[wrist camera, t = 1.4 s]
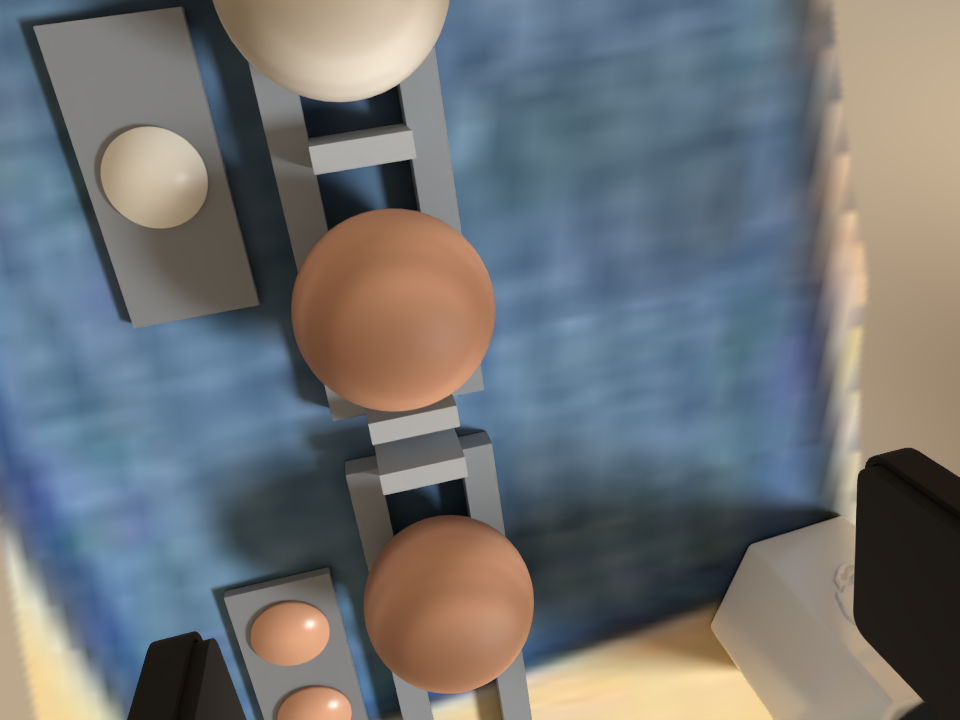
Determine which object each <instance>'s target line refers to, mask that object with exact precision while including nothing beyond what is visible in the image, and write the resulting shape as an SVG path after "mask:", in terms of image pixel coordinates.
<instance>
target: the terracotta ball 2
mask: <svg viewBox="0 0 960 720" xmlns="http://www.w3.org/2000/svg"><path fill="white" fill-rule="evenodd" d="M533 610H534V595H533V587H532V582H531V578H530V575H529V572H528V569H527V567H526V564H525V563H524V561H523V559H522V557H521V555H520V554H519V552H518V551H517V549H516V548H515V547H514V546H513V545H512V543H511V542H510V541H509V540H508V539H507V538H506V537H505V536H504V535H503V534H502V533H500V532H499V531H498V530H496V529H495V528H493V527H491V526H490V525H488V524H486V523H484V522H482V521H479V520H476V519H473V518H470V517H466V516H460V515H441V516H435V517H430V518H427V519H423V520H421V521H418V522H416V523H413V524H412V525H410V526H408V527H406V528H404V529H403V530H402V531H400V532H399V533H397V534H396V535H395V536H394V537H393V538H392V539H391V540H390V541H389V542H388V543H387V544H386V545H385V547H384V548H383V549H382V550H381V552H380V553H379V555H378V556H377V558H376V560H375V562H374V564H373V566H372V568H371V570H370V572H369V575H368V579H367V582H366V587H365V593H364V617H365V623H366V629H367V632H368V635H369V638H370V640H371V643H372V645H373V647H374V649H375V651H376V652H377V654H378V655H379V657H380V658H381V660H382V661H383V662H384V664H385V665H386V666H387V667H388V668H389V669H390V670H391V671H392V672H393V673H395V674H396V675H397V676H398V677H399V678H401V679H402V680H404V681H405V682H407V683H409V684H411V685H413V686H415V687H417V688H420V689H423V690H426V691H431V692H436V693H461V692H465V691H470V690H473V689H476V688H478V687H481V686H483V685H485V684H487V683H489V682H491V681H492V680H494V679H495V678H496V677H498V676H499V675H500V674H501V673H503V672H504V671H505V670H506V669H507V668H508V667H509V666H510V665H511V664H512V663H513V661H514V660H515V659H516V657H517V656H518V654H519V653H520V651H521V649H522V648H523V646H524V644H525V642H526V640H527V637H528V634H529V631H530V628H531V624H532V620H533Z"/></svg>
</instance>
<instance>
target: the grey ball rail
mask: <svg viewBox="0 0 960 720" xmlns="http://www.w3.org/2000/svg"><path fill="white" fill-rule="evenodd" d="M248 63H249V67H250V71H251V76H252V80H253V84H254V88H255V93H256V97H257V101H258V105H259V110H260V114H261V118H262V122H263V127H264V131H265V135H266V139H267V144H268V148H269V152H270V156H271V161H272V165H273V169H274V173H275V178H276V182H277V186H278V190H279V195H280V199H281V203H282V207H283V212H284V216H285V220H286V224H287V229H288V233H289V237H290V241H291V246H292V250H293V254H294V258H295V263H296V267H297V271H298V272H299V270H300V267H301V265H302V263H303V261H304V259H305V258H306V256H307V254H308V252H309V251H310V250H311V249H312V247H313V246H314V245H315V244H316V242H317V241H318V240H319V239H320V238H321V237H322V236H323V235H324V234H325V233H327V232H328V231H329V230H328V225H327V221H326V216H325V211H324V207H323V202H322V197H321V193H320V188H319V183H318V178H317V175H318V174H324V173H330V172H336V171H342V170H348V169H354V168H360V167H366V166H372V165H379V164H385V163H391V162H397V161H403V160H409V161H410V167H411V173H412V179H413V185H414V191H415V197H416V203H417V209H418V212H421V213H424V214H428V215H430V216H432V217H435V218H437V219H439V220H441V221H443V222H444V223H446V224H447V225H449V226H451V227H452V228H453V229H455V230H456V231H457V232H458V233H459V234H461V235H462V233H461V227H460V220H459V213H458V206H457V199H456V192H455V185H454V178H453V171H452V164H451V157H450V151H449V144H448V137H447V130H446V123H445V116H444V109H443V102H442V95H441V88H440V82H439V75H438V68H437V61H436V54H435V47H434V46H433V48H432V50H431V51H430V53H429V55H428V56H427V57H426V58H425V60H424V61H423V62H422V64H421V65H420V66H419V67H418V68H417V69H416V70H415V71H414V72H413V73H412V74H411V75H410V76H409V77H407V78H406V79H405V80H403V81H402V82H401V83H399V84H398V85H397V88H398V94H399V100H400V107H401V113H402V119H403V123H401V124H395V125H389V126H382V127H376V128H370V129H364V130H357V131H351V132H345V133H339V134H332V135H326V136H320V137H313V138H309V136H308V132H307V127H306V122H305V118H304V113H303V108H302V104H301V99H300V95H298V94H295V93H293V92H291V91H289V90H287V89H285V88H282V87H281V86H279V85H277V84H276V83H274V82H273V81H271V80H270V79H268V78H267V77H265V76H264V75H263V74H262V73H261V72H259V71H258V70H257V69H256V68H254V66H253V65H252V64H251V63H250V62H249V61H248ZM324 386H325V390H326V394H327V398H328V403H329V407H330V411H331V415H332V420H333V421H337V420H342V419H346V418H351V417H356V416H361V415H365V414H367V420H368V426H369V430H370V435H371V440H372V444H373V445H375V452H376V455H374V456H369V457H364V458H360V459H355V460H350V461H346V462H345V474H346V479H347V483H348V488H349V492H350V496H351V500H352V505H353V509H354V513H355V517H356V522H357V526H358V530H359V534H360V539H361V543H362V547H363V551H364V556H365V560H366V564H367V568H368V572H370V570H371V568H372V566H373V564H374V562H375V560H376V558H377V556H378V555H379V553H380V552H381V550H382V549H383V548H384V547H385V545H386V544H387V543H388V542H389V541H390V540H391V539H392V538H393V537H394V533H393V529H392V524H391V519H390V515H389V510H388V505H387V501H386V496H385V495H388V494H393V493H397V492H401V491H406V490H410V489H415V488H419V487H424V486H428V485H433V484H437V483H442V482H446V481H451V480H455V479H460V478H462V480H463V486H464V492H465V498H466V505H467V511H468V517H470V518H473V519H476V520H479V521H482V522H484V523H486V524H488V525H490V526H491V527H493V528H495V529H496V530H498V531H499V532H500V533H502V534H503V535H504V536H505V530H504V523H503V516H502V510H501V503H500V496H499V489H498V482H497V475H496V468H495V461H494V454H493V447H492V442H491V440H490V438H489V436H488V434H487V431H485V432H480V433H475V434H471V435H466V436H462V437H457V434H456V432H455V429H454V428H456V427H460V423H459V417H458V411H457V405H456V403H455V400H454V398H453V396H457V395H461V394H466V393H471V392H476V391H481V390H484V385H483V378H482V371H481V365H479V366H478V368H477V369H476V371H475V372H474V373H473V374H472V376H471V377H470V378H469V379H468V380H467V381H466V382H465V383H464V384H463V385H462V386H461V387H460V388H459V389H457V390H456V391H454V392H453V393H452V394H450V395H449V396H447V397H445V398H444V399H442V400H440V401H438V402H436V403H433V404H431V405H428V406H425V407H422V408H418V409H414V410H407V411H393V412H389V411H378V410H374V409H369V408H365V407H362V406H359V405H356V404H354V403H352V402H350V401H348V400H346V399H344V398H342V397H341V396H339V395H338V394H336V393H335V392H333V391H332V390H330V389H329V388H328V387H327V386H326V385H324ZM392 674H393V679H394V683H395V687H396V691H397V696H398V700H399V704H400V708H401V713H402V717H403V720H433V715H432V711H431V706H430V701H429V697H428V692H427V691H426V690H423V689H420V688H417V687H415V686H413V685H411V684H409V683H407V682H405V681H404V680H402V679H401V678H399V677H398V676H397V675H396V674H395V673H393V672H392ZM495 679H496V685H497V691H498V698H499V704H500V710H501V716H502V720H532V717H531V710H530V703H529V696H528V689H527V682H526V675H525V668H524V661H523V654H522V649H521V651H520V653H519V654H518V656H517V657H516V659H515V660H514V661H513V663H512V664H511V665H510V666H509V667H508V668H507V669H506V670H505V671H504V672H503V673H501V674H500V675H499V676H498V677H496V678H495Z"/></svg>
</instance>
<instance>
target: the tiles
mask: <svg viewBox="0 0 960 720" xmlns="http://www.w3.org/2000/svg"><path fill="white" fill-rule="evenodd" d="M33 27H34V30H35V33H36V36H37V39H38V42H39V45H40V48H41V51H42V54H43V57H44V60H45V63H46V66H47V69H48V73H49V76H50V79H51V82H52V85H53V88H54V91H55V94H56V97H57V100H58V103H59V106H60V109H61V112H62V115H63V118H64V121H65V124H66V127H67V130H68V133H69V136H70V139H71V142H72V145H73V148H74V151H75V154H76V157H77V160H78V163H79V166H80V169H81V172H82V175H83V178H84V181H85V184H86V187H87V190H88V193H89V196H90V199H91V202H92V205H93V208H94V211H95V214H96V217H97V220H98V223H99V226H100V229H101V232H102V235H103V238H104V241H105V244H106V247H107V250H108V253H109V256H110V259H111V262H112V265H113V268H114V271H115V274H116V277H117V280H118V283H119V286H120V289H121V292H122V295H123V298H124V301H125V304H126V307H127V310H128V313H129V316H130V319H131V322H132V325H133V328H139V327H145V326H150V325H156V324H161V323H166V322H172V321H177V320H182V319H188V318H193V317H198V316H204V315H209V314H215V313H220V312H225V311H231V310H236V309H241V308H247V307H252V306H257V305H259V304H260V299H259V296H258V292H257V288H256V284H255V280H254V276H253V273H252V269H251V265H250V261H249V257H248V253H247V249H246V246H245V242H244V238H243V234H242V230H241V226H240V222H239V219H238V215H237V211H236V207H235V203H234V199H233V196H232V192H231V188H230V184H229V180H228V176H227V172H226V169H225V165H224V161H223V157H222V153H221V149H220V145H219V142H218V138H217V134H216V130H215V126H214V122H213V119H212V115H211V111H210V107H209V103H208V99H207V95H206V92H205V88H204V84H203V80H202V76H201V72H200V69H199V65H198V61H197V57H196V53H195V49H194V45H193V42H192V38H191V34H190V30H189V26H188V22H187V18H186V15H185V11H184V7H174V8H166V9H159V10H151V11H144V12H137V13H129V14H122V15H114V16H107V17H99V18H92V19H84V20H77V21H69V22H62V23H54V24H47V25H40V26H33ZM224 601H225V604H226V607H227V610H228V613H229V616H230V619H231V622H232V625H233V628H234V631H235V634H236V637H237V640H238V643H239V646H240V649H241V652H242V655H243V658H244V661H245V664H246V667H247V670H248V673H249V676H250V679H251V682H252V685H253V688H254V691H255V694H256V697H257V700H258V703H259V706H260V709H261V712H262V715H263V718H264V720H369V719H368V715H367V711H366V708H365V704H364V700H363V696H362V692H361V688H360V684H359V681H358V677H357V673H356V669H355V665H354V661H353V657H352V654H351V650H350V646H349V642H348V638H347V634H346V631H345V627H344V623H343V619H342V615H341V611H340V607H339V604H338V600H337V596H336V592H335V588H334V584H333V580H332V577H331V573H330V569H329V567H327V568H322V569H318V570H314V571H309V572H305V573H301V574H297V575H292V576H288V577H284V578H279V579H275V580H271V581H267V582H262V583H258V584H254V585H249V586H245V587H241V588H237V589H232V590H228V591H225V593H224Z"/></svg>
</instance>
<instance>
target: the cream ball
mask: <svg viewBox="0 0 960 720" xmlns="http://www.w3.org/2000/svg"><path fill="white" fill-rule="evenodd" d="M213 3H214V6H215V9H216V11H217V14H218V16H219V18H220V21H221V23H222V25H223V27H224V29H225V30H226V32H227V34H228V35H229V37H230V39H231V40H232V42H233V43H234V44H235V46H236V47H237V48H238V50H239V51H240V52H241V54H242V55H243V56H244V57H245V58H246V59H247V60H248V61H249V62H250V63H251V64H252V65H253V66H254V68H256V69H257V70H258V71H259V72H261V73H262V74H263V75H264V76H265V77H267V78H268V79H270V80H271V81H273V82H274V83H276V84H277V85H279V86H281V87H282V88H285V89H287V90H289V91H291V92H293V93H295V94H298V95H301V96H304V97H307V98H310V99H315V100H321V101H327V102H349V101H357V100H362V99H366V98H370V97H373V96H376V95H378V94H381V93H384V92H386V91H387V90H389V89H391V88H393V87H395V86H397V85H398V84H399V83H401V82H402V81H403V80H405V79H406V78H407V77H409V76H410V75H411V74H412V73H413V72H414V71H415V70H416V69H417V68H418V67H419V66H420V65H421V64H422V62H423V61H424V60H425V58H426V57H427V56H428V55H429V53H430V51H431V50H432V48H433V46H434V45H435V43H436V41H437V39H438V37H439V35H440V32H441V30H442V28H443V25H444V22H445V18H446V15H447V11H448V6H449V0H213Z"/></svg>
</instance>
